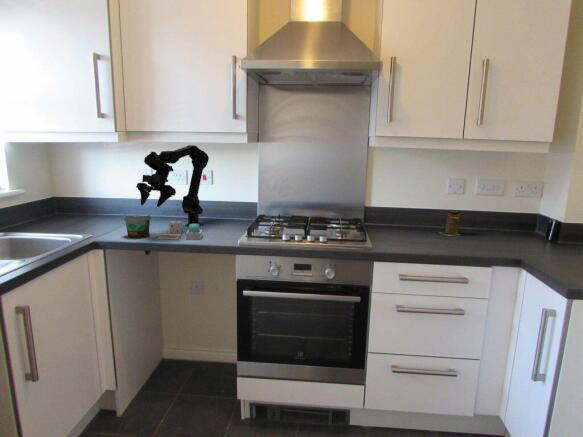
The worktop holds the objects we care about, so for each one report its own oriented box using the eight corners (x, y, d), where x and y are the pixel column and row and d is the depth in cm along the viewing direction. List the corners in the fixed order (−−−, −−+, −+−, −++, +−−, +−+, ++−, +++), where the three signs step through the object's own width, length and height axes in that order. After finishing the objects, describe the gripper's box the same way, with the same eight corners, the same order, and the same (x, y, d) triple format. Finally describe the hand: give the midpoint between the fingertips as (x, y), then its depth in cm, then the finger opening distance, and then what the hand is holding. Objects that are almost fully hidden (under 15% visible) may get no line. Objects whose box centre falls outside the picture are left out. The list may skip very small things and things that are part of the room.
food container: (120, 238, 168) (118, 216, 166) (125, 235, 174) (124, 214, 172) (147, 238, 169) (146, 217, 166) (152, 235, 175) (151, 214, 173)
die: (171, 231, 184) (171, 221, 183) (182, 231, 185) (181, 221, 184) (169, 233, 180) (169, 223, 179) (180, 233, 180) (179, 223, 179)
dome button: (190, 231, 174) (190, 223, 173) (199, 231, 175) (199, 223, 174) (188, 234, 170) (188, 225, 169) (198, 234, 170) (198, 225, 170)
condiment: (461, 234, 192) (464, 212, 190) (449, 236, 188) (452, 213, 186) (449, 231, 198) (452, 209, 196) (438, 233, 195) (440, 210, 192)
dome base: (188, 235, 176) (188, 229, 175) (202, 235, 176) (202, 229, 176) (186, 239, 169) (186, 233, 169) (200, 239, 170) (200, 233, 169)
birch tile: (162, 234, 177) (162, 233, 177) (181, 234, 178) (181, 233, 178) (157, 239, 168) (157, 238, 168) (177, 239, 169) (177, 238, 169)
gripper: (134, 165, 169) (121, 196, 164) (166, 167, 162) (154, 200, 157) (149, 177, 179) (138, 206, 174) (181, 179, 172) (170, 210, 167)
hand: (149, 205), depth 168 cm, fingers open, 9 cm apart
